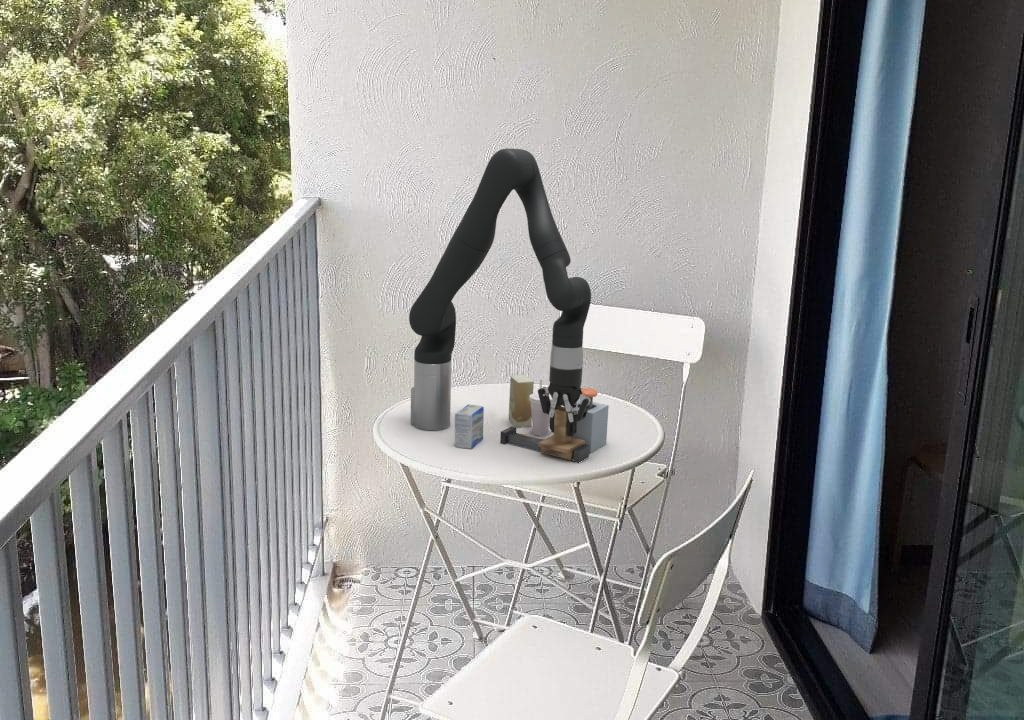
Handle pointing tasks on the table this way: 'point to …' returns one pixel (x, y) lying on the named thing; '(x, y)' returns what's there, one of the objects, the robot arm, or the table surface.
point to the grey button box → (593, 426)
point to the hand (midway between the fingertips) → (562, 433)
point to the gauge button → (589, 394)
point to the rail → (537, 443)
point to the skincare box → (520, 401)
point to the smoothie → (539, 414)
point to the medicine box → (469, 426)
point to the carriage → (560, 437)
